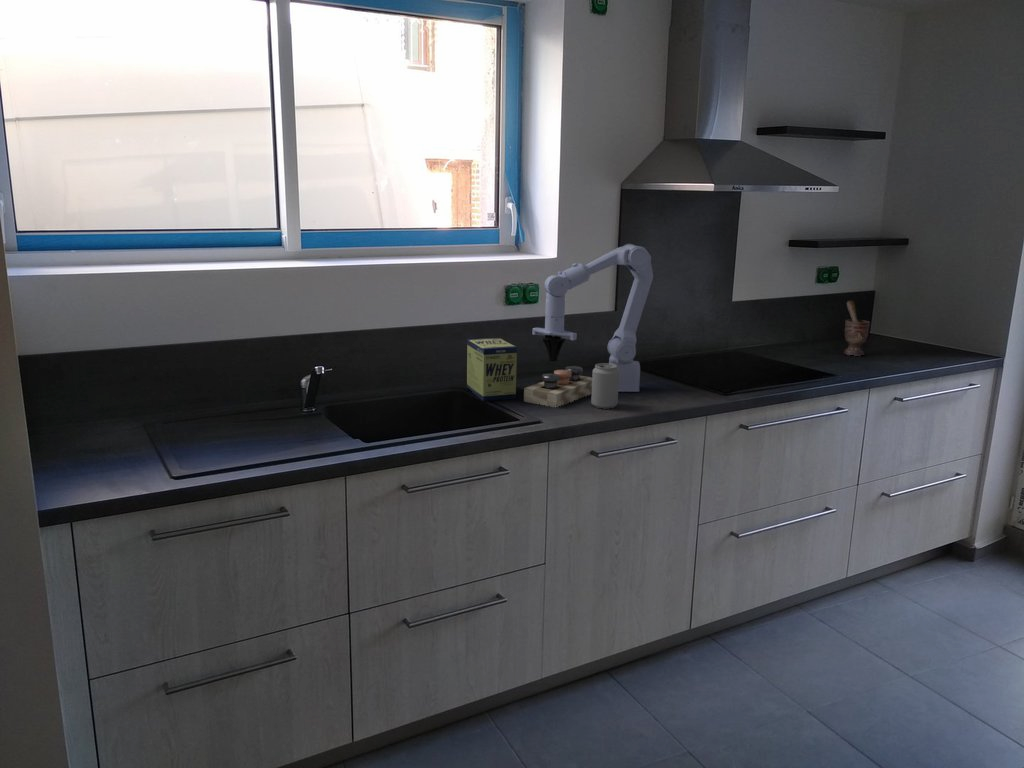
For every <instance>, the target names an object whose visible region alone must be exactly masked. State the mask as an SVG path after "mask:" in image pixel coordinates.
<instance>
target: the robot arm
mask: <svg viewBox="0 0 1024 768" xmlns="http://www.w3.org/2000/svg"><path fill="white" fill-rule="evenodd" d="M614 265H620V266H625V267H627V268H628V269H629V271H630V272H631V274H632V276H633V279H634V280H633V282H632V286H631V287H630V292H629V294H628V298H627V300H626V301H627V302H626V305H625V308H624V310H623V314H622V317H621V321H620V324H619V327H618V328H617V329H616V330H615V331H614V333H613V336H612V338H611V339H610V340H608V344H607V352H608V353H609V355H610V356H609V358H608V360H609V361H608V364H614V365H616V366H617V369H618V370H619V387H618V393H619V392H621V393H622V392H623V393H624V392H625V393H627V392H629V393H631V392H634V393H635V392H637V393H638V392H640V383H641V381H640V380H641V379H640V377H641V365H640V364H641V363H640V361H639V360H634V359H635V357H636V354H637V347H636V345H637V334H636V333H637V330H638V327H639V323H640V321H641V317H642V313H643V311H644V307H645V305H646V302H647V298H648V295H649V292H650V289H651V285H652V282H653V279H654V272H653V266H652V255H650V253H649V252H648V250H647V249H646V247H644V246H640V245H635V244H632V243H626V244H624V245H623V246H619V247H617V248H614V249H612V250H610V251H609V252H607V253H605V254H603V255H601V256H600V257H598V258H596V259H594V260H592V261H591V262H589V263H587V264H583V263H582V262H581V263H580V262H579V263H576V262H575V263H573V264H571V267H570V268H567V269H565V270H563V271H562V270H561V271H560V270H559V271H558V272H557V275H556V274H552V275H550V276H548V277H547V278H546V279H545V280H544V283H543V288H544V291H545V292H546V293H545V307H544V308H545V310H544V312H545V313H544V318H545V319H544V327H533V328H532V335H534V336H537V335H538V336H544V337H543V338H542V341H543V343H544V346H545V347H546V351H547V354H548V358H549V361H550V362H557V361H558V357H559V354H560V351H561V349H562V347H563V345H564V343H565V341H566V340H570V341H576V340H577V336H578V334H577V332H572V331H569V330H565V314H566V313H565V312H566V311H565V310H566V308H565V307H566V301H565V300H566V299H565V297H566V296H565V295H566V294H567V292H568V290H569V291H570V290H572V289H574V288H576V287H577V286H579V285H582V284H584V283H586V282H588V281H589V279H590V276H591V275H593V274H596V273H598V272H600V271H603V270H605V269H606V268H610V267H613V266H614Z"/></svg>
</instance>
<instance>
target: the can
mask: <svg viewBox="0 0 1024 768" xmlns="http://www.w3.org/2000/svg"><path fill="white" fill-rule="evenodd" d="M591 378H592V394H591V398H590V399H591V401H590V404H592V405H593V407H594V406H595V407H594V408H596V409H601V408H603V409H602V410H604V409H605V410H608V409H610V408H611V409H614V408H615V407H616V406H617V405H618V401H619V392H618V387H619V370H618V369H617V366H616V365H614V364H609V363H607V362H606V363H604V362H602V363H596V364H594V368H593V369H592V377H591Z"/></svg>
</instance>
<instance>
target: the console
mask: <svg viewBox="0 0 1024 768" xmlns="http://www.w3.org/2000/svg"><path fill="white" fill-rule="evenodd" d="M523 390H524V391H523V402H525V403H530V404H536V405H539V404H540V406H544V405H545V407H549V406H550V407H549V408H554V407H555V409H557V408H559V406H560V407H562V406H565V405H567V404H570V403H572V402H575V401H577V400H579V398H580V399H582V397H583V398H585V397H587V395H588V396H590V395H592V377H590V376H584V375H580V381H578V382H573V381H569V385H567V386H562V385H558V389H555V390H550V389H544V381H542V382H538V383H536V384H535V383H534V384H532V385H530V386H527V387H524V388H523ZM584 396H585V397H584ZM574 400H575V401H574ZM569 402H570V403H569ZM564 404H565V405H564ZM561 405H562V406H561ZM556 407H557V408H556Z"/></svg>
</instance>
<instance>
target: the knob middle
mask: <svg viewBox="0 0 1024 768" xmlns="http://www.w3.org/2000/svg"><path fill="white" fill-rule="evenodd" d="M553 374H558V375H560V381H558V385H562V386H567V385H569V377H571V375H572V372H571V371H569V370H565V369H555V370H553Z"/></svg>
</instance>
